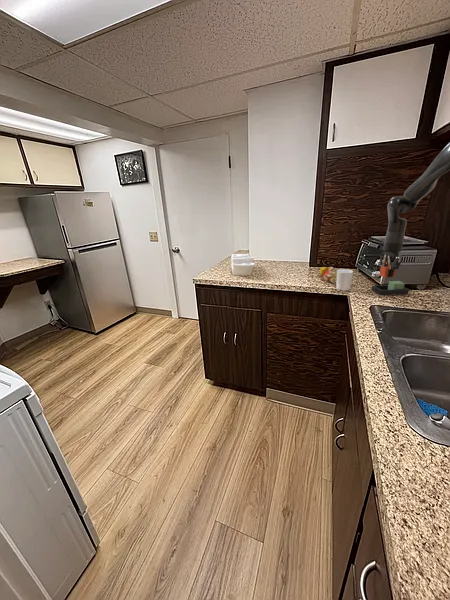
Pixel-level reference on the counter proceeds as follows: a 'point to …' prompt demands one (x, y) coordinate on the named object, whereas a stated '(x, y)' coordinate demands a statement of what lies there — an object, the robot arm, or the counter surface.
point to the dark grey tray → (384, 290)
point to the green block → (395, 285)
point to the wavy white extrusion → (242, 264)
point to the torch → (328, 274)
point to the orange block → (385, 271)
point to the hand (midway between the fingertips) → (386, 275)
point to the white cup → (344, 279)
